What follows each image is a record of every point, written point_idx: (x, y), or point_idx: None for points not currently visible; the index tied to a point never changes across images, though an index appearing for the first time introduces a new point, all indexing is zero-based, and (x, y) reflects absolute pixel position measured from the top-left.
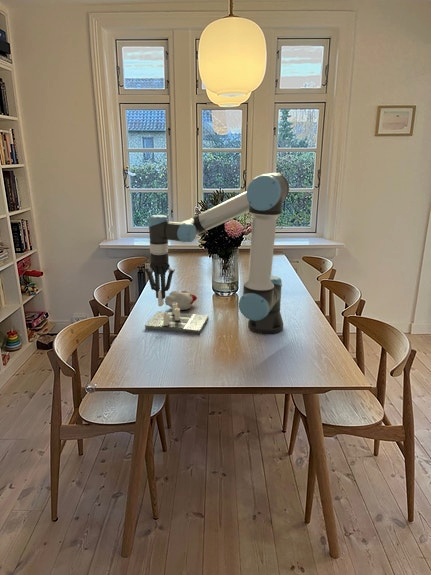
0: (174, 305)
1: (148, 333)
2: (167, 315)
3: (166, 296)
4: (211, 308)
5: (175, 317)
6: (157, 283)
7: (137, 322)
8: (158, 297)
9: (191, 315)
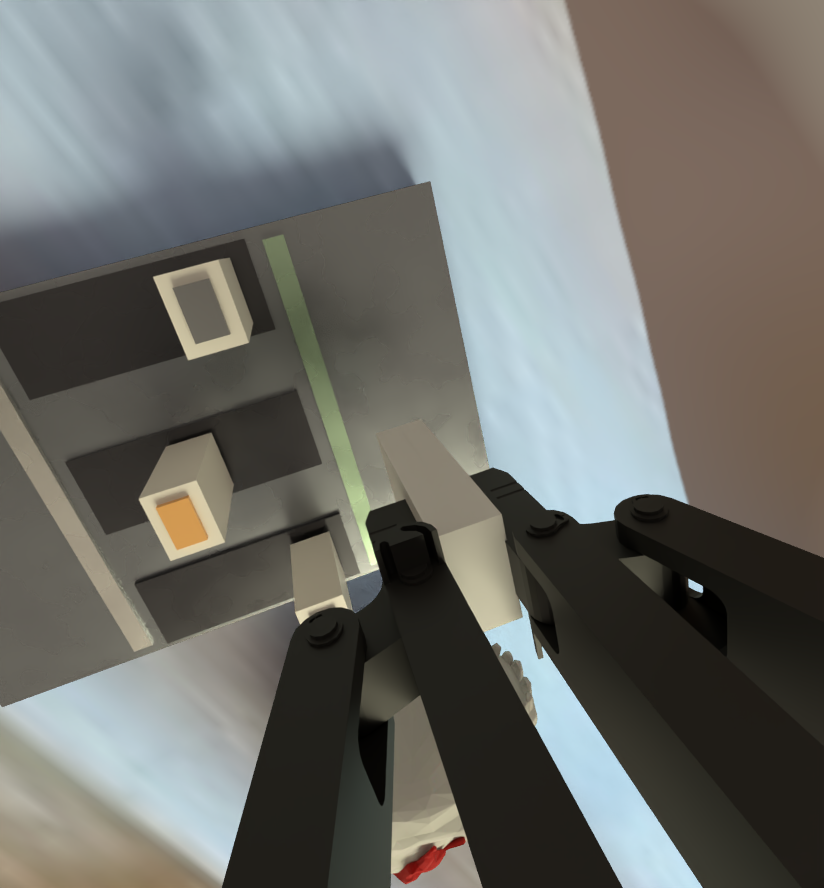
0: (313, 598)
1: (333, 115)
2: (158, 284)
3: (535, 716)
4: (173, 829)
5: (199, 446)
6: (619, 651)
7: (567, 298)
8: (454, 470)
9: (151, 615)
